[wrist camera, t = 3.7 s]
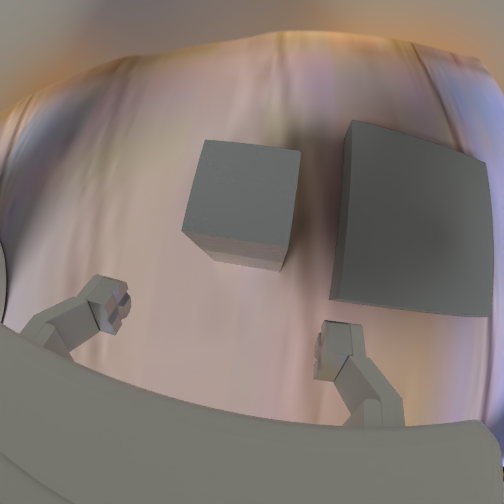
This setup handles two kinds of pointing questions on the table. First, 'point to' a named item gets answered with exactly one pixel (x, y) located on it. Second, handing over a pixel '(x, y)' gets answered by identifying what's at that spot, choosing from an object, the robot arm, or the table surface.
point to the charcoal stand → (413, 226)
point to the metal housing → (243, 203)
